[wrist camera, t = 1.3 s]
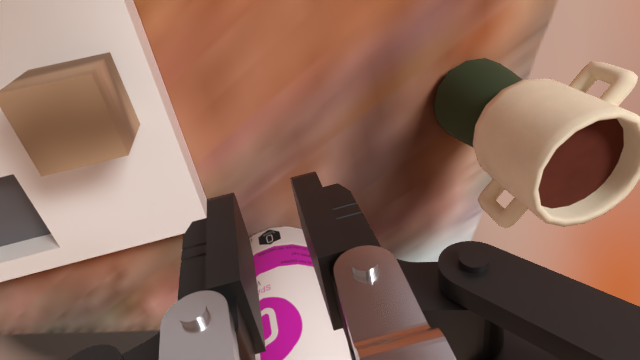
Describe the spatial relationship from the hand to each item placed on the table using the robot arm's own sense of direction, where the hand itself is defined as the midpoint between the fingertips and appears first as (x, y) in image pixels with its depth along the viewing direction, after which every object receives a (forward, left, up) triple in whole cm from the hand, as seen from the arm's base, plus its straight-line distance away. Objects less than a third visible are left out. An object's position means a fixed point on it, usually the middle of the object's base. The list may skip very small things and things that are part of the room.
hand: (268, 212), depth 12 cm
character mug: (+7, +17, -19) cm, 26 cm away
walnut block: (0, -9, -17) cm, 19 cm away
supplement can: (+18, -1, -19) cm, 26 cm away
